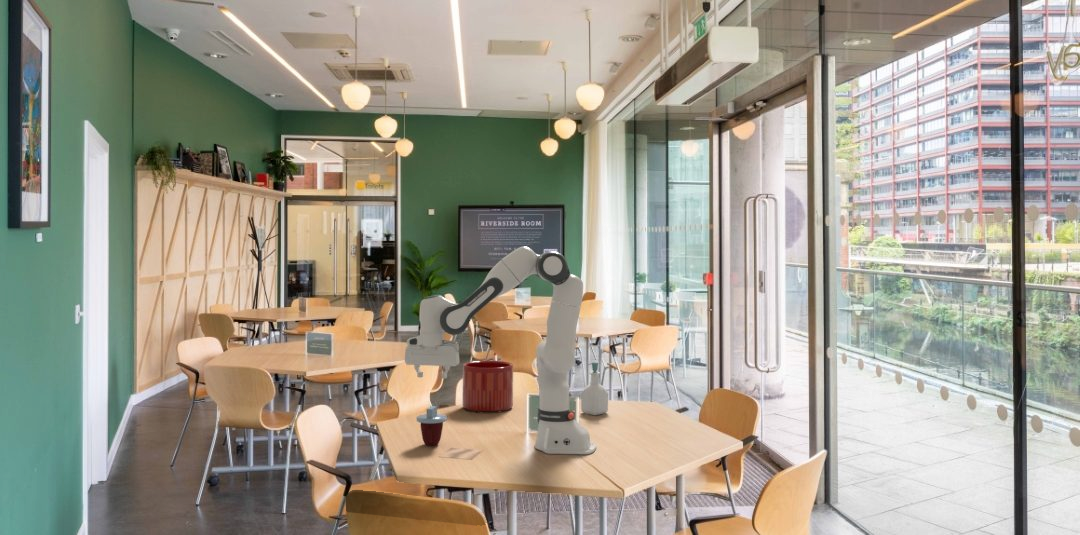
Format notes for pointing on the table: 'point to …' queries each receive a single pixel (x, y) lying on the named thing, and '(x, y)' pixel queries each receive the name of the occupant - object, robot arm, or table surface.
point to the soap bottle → (594, 395)
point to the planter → (487, 386)
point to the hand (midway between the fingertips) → (432, 377)
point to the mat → (461, 453)
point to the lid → (432, 416)
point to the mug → (431, 433)
